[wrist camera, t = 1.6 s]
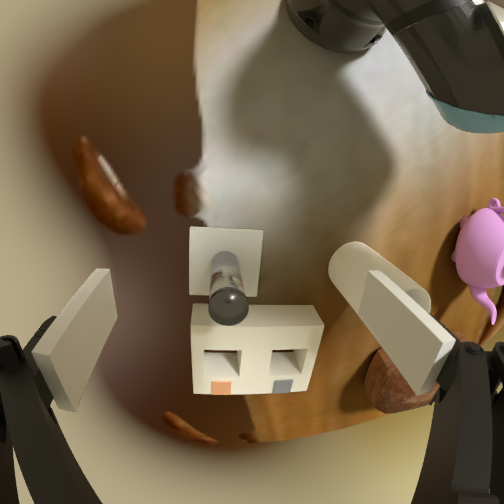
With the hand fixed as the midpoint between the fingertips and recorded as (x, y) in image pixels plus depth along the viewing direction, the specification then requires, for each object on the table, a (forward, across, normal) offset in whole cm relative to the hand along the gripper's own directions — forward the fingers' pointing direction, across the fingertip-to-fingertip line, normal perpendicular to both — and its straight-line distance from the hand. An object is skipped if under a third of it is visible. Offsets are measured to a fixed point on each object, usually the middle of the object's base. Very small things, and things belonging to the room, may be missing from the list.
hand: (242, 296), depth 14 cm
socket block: (+27, +5, -23) cm, 36 cm away
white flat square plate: (+27, 0, -9) cm, 28 cm away
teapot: (+27, +48, -6) cm, 56 cm away
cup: (+27, +20, -10) cm, 35 cm away
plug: (+26, 0, -9) cm, 27 cm away
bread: (+27, +42, -32) cm, 60 cm away
